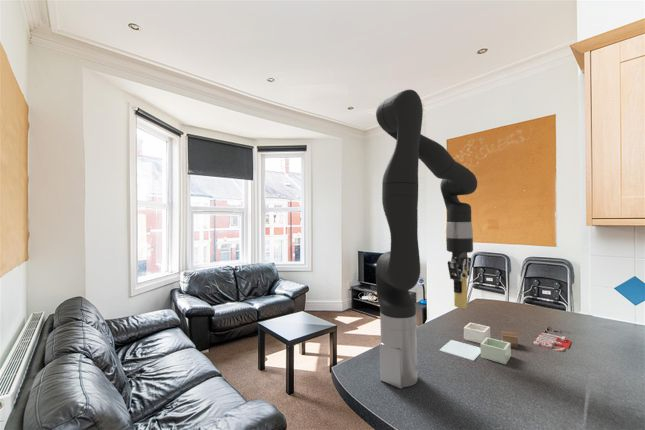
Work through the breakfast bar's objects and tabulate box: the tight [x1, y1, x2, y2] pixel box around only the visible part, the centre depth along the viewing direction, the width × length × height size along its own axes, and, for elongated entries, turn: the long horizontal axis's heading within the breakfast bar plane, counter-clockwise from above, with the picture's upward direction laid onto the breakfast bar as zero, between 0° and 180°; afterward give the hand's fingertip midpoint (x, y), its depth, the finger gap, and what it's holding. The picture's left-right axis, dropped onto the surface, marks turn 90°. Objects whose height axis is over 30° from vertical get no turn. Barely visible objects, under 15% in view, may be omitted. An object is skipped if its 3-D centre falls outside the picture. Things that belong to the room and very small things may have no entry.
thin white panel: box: [439, 339, 481, 362], centre depth 91 cm, size 10×10×1 cm
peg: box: [453, 276, 468, 309], centre depth 91 cm, size 4×4×9 cm
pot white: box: [463, 322, 491, 344], centre depth 99 cm, size 6×6×4 cm
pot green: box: [479, 337, 512, 365], centre depth 86 cm, size 6×6×4 cm
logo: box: [533, 324, 572, 352], centre depth 99 cm, size 25×2×10 cm
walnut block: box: [500, 330, 519, 349], centre depth 94 cm, size 4×4×4 cm
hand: (460, 291), depth 91 cm, fingers closed on peg, 3 cm apart
